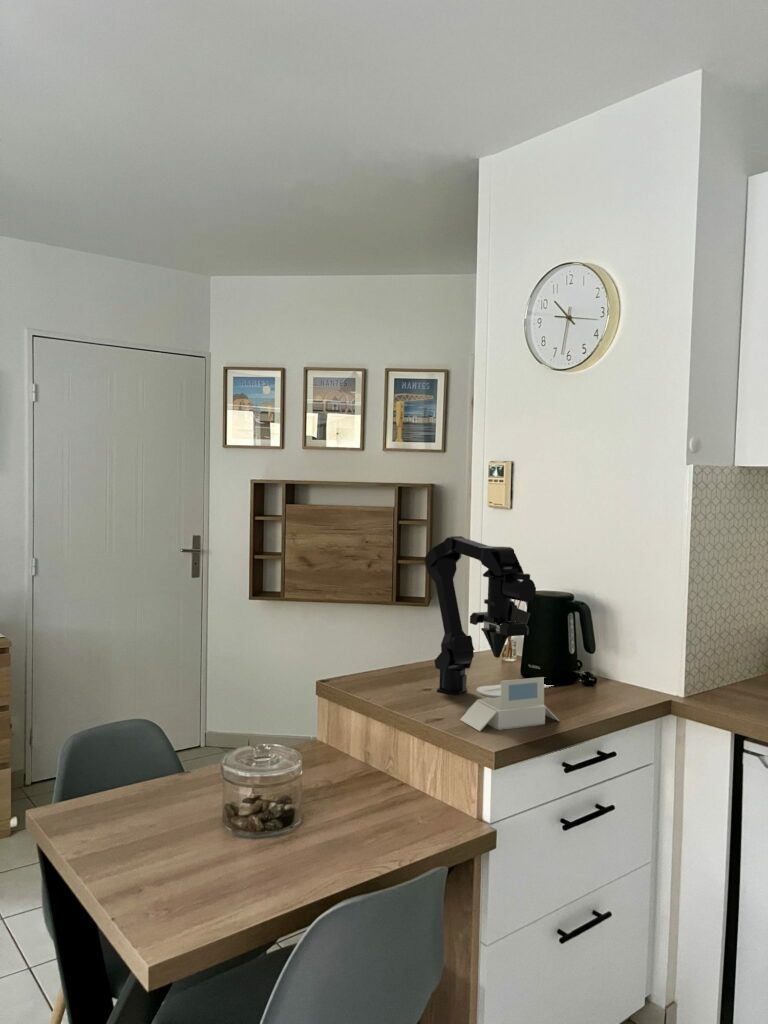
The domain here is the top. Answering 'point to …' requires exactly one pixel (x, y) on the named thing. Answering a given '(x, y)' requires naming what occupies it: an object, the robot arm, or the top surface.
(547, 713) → the flap
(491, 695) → the white pronged spatula
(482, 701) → the carton
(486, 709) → the flap
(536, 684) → the panel
